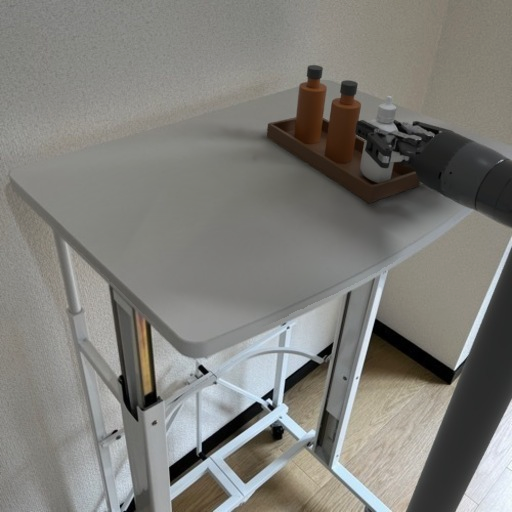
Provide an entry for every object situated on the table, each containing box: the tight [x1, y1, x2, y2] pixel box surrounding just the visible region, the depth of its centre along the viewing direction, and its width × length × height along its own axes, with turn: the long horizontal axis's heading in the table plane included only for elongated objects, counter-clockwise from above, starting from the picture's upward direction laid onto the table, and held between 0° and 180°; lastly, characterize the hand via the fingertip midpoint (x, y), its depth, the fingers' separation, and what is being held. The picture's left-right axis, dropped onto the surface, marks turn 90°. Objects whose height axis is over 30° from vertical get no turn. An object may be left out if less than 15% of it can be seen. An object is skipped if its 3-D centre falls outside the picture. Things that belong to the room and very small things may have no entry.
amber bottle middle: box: [325, 79, 362, 163], centre depth 84 cm, size 4×4×12 cm
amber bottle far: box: [294, 64, 328, 144], centre depth 90 cm, size 4×4×12 cm
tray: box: [266, 116, 421, 204], centre depth 88 cm, size 10×25×2 cm, turn 34°
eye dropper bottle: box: [360, 95, 398, 183], centre depth 79 cm, size 4×6×12 cm
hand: (368, 124), depth 80 cm, fingers closed on eye dropper bottle, 3 cm apart
